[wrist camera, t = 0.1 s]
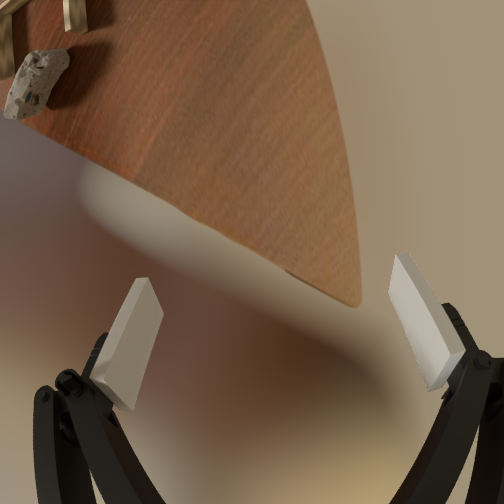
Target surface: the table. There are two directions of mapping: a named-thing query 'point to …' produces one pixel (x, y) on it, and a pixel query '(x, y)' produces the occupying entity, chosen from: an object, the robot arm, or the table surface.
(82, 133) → the table surface
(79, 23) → the bracket
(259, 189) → the table surface
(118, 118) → the table surface
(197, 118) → the table surface
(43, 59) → the stone
